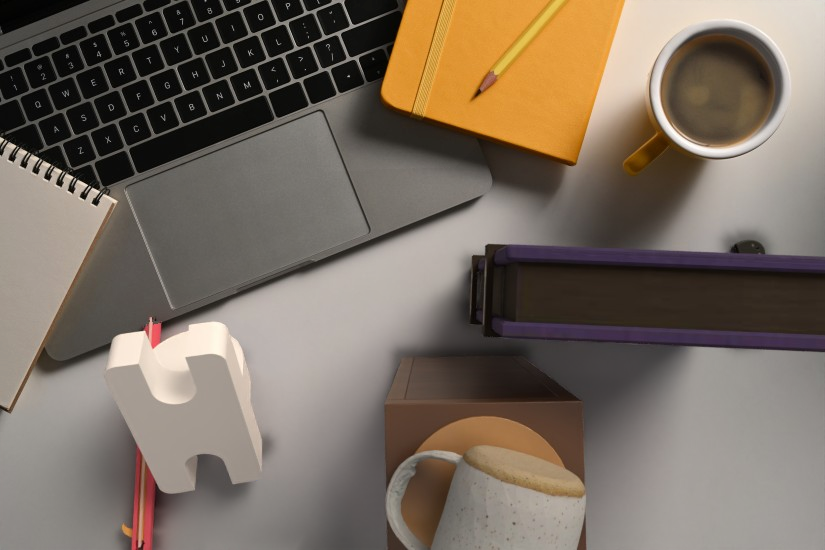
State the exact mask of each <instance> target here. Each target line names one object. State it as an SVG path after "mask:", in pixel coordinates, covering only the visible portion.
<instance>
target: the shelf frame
mask: <svg viewBox="0 0 825 550" xmlns="http://www.w3.org/2000/svg"><path fill="white" fill-rule="evenodd" d="M540 397H577V395H575V394H574V393H573V392H571V391H570V390H569V389H567V388H566V387H564V385H562V384H560V383H559V382H557V381H556V380H555V379H553V377H551V376H550V375H548V374H547V373H546V372H544V371H543V370H541V369H540V368H539V367H538V366H536V365H535V364H533V363H532V362H531V361H529V360H528V359H527V358H526V357H524V356H523V355H485V356H484V355H483V356H482V355H481V356H480V355H476V356H472V355H471V356H429V357H428V356H425V357H424V356H421V357H419V356H418V357H402V358H401V361H400V363H399V365H398V368H397V371H396V373H395V376H394V379H393V381H392V383H391V386H390V389H389V392H388V394H387V397H386V399H385V401H386V400H420V399H480V398H540Z"/></svg>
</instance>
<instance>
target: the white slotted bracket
mask: <svg viewBox="0 0 825 550" xmlns="http://www.w3.org/2000/svg"><path fill="white" fill-rule="evenodd" d="M103 373H104V374H103V379H104V381H105V383H106V385H107V387H108V389H109V391H110V393H111V395H112V397H113V399H114V402H115V403H116V405H117V407H118V409H119V411H120V412H121V415H122V417H123V419H124V421H125V423H126V425H127V427H128V430H129V431H130V434H131V435H132V437H133V439H134V441H135V443H136V445H138V447H139V449H140V451H141V453H142V455H143V457H144V459H145V461H146V463H147V465H148V467H149V469H150V471H151V473H152V475H153V477H154V479H155V481H156V484H157V487H158V489H159V490H160V491H161V492H163V493H165V494H170V495H171V494H181V493H186V492H187V493H188V492H192V491H196V482H197V481H196V480H197V469H198V459H199V457H198V456H199V455H213V456H215V457H217V458H220V459H221V460H222V461H223V463H224V465H225V467H226V468H225V469H226V471H227V474H228V475H229V479H230V481H231V484H232V485H237V484H245V483H250V482H254V481H257V480H259V479H260V478H261V477H262V475H263V439H262V435H261V433H260V429H259V426H258V423H257V422H258V421H257V419H256V416H255V413H254V409H253V405H252V403H251V393H252V391H251V390H252V383H251V375H250V372H249V368H248V365H247V361H246V358H245V354H244V351H243V348H242V347H241V344H240V343H239V341H238V340H237V339H236V338H234V337H233V336H232V335H231V334H230V330H229V328H228V326H227V325H225V324H224V323H222V322H220V321H207V322H206V321H205V322H200V323H193V324H192V323H191V324H189V325H188V330H187V331H182V332H180V333H177V334H174V335H173V336H170V337H168V338H167V339H165V340H163V341H162V342H160V344H158V345H157V346H156V347H155V348H154V349H152V347H151V344H150V342H149V339H148V337H147V334H146V332H145V331H143V330H141V331H134V332H133V331H132V332H127V333H120V334H117V335H116V336H114V337H113V338H112V340H111V344H110V348H109V352H108V355H107V361H106V365H105V369H104V372H103Z"/></svg>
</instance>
